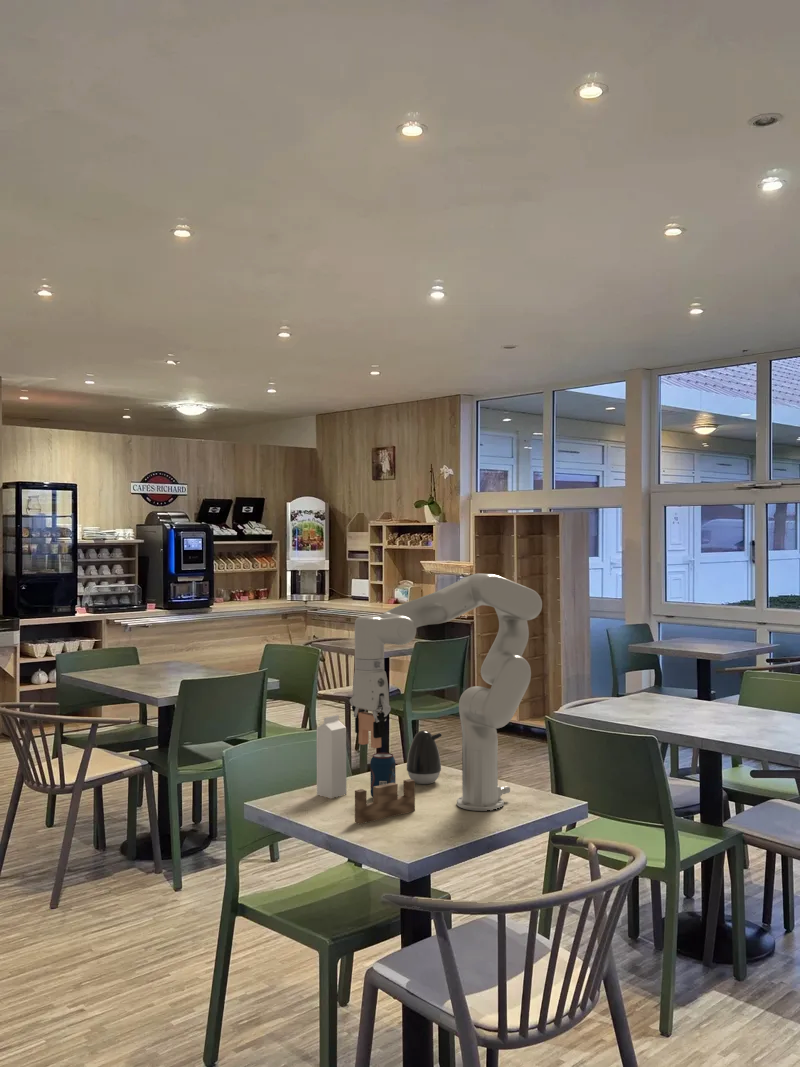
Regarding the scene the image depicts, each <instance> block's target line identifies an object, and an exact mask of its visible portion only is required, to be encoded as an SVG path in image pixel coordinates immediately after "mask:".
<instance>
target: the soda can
mask: <svg viewBox="0 0 800 1067" xmlns="http://www.w3.org/2000/svg"><path fill="white" fill-rule="evenodd" d="M388 783H396V759H395V758H394V754H393V753H391V752H376V753H373V754H372V757H371V760H370V796H371V797H372V799H373V787H374V786H379V785H383V784H388ZM396 784H397V783H396Z"/></svg>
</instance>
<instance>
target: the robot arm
mask: <svg viewBox="0 0 800 1067" xmlns="http://www.w3.org/2000/svg"><path fill="white" fill-rule="evenodd" d="M542 600H543V599H542V598H541V595H540V594H539V593H538V592H537V591H536V590H534V589H532V588H529V587H527V586H525V585H522V584H520V583H518V582H515V581H513V580H511V579H507V578H505V577H502V576H500V575H497V574H493V573H480V572H479V573H473V574H470V575H468V576H466V577H464V578H462V579H460V580H457V581H456V582H454V583H451V584H449V585H447V586H446V587H444V588H441V589H439V590H437V591H434V592H432V593H428V594H426V595H423V596H421V597H418V598H416V599H412V600H410V601H407V602H405V603H402V604H400V605H397V606H395V607H393V608H391V609H389V610H387V611H386V612H383V613H382V614H380V615H379V616H373V615H372V616H371V615H368V616H367V615H366V616H359V617H357V618H356V619H355V621H354V674H353V682H352V697H350V699H349V704H350V706H351V709H352V712H353V717H354V732H355V734H359V718H358V713H359V712H367V711H369V712H371V713H373V716H374V719H375V722H373V737H374V738H380V737H381V738H385V736H386V733H385V731H386V730H385V728H386V726H385V724H386V723H385V722H386V721H387V718H388V717H389V713H390V712H391V710H392V707H391V705H390V690H389V683H388V677H387V672H386V671H385V644H387V645H398V646H400V645H401V646H403V645H407V644H410V643H411V642H412V641H413V640H414V639H415V637H416V635H417V629H418V628H419V627H420V628H421V627H423V626H428V625H439V624H443V623H447V622H448V623H449V622H450V621H452V620H454V619H456V618H458V617H460V616H463V615H464V614H466V613H468V612H470V611H472V610H474V609H476V608H478V607H481V606H485V607H486V606H487V607H492V608H494V611H495V613H496V615H497V619H498V630H497V634H496V637H495V639H494V641H493V643H492V645H491V647H490V648H489V650H488V652H487V654H486V657H485V658H484V660H483V662H482V663H481V667H480V676H481V678H482V680H483V681H484V682H485V683H486V684H488V685H491V687H490V688H488V687H485V686H480V685H479V686H470V687H468V688H467V689H466V690H464V691H463V692H462V694H461V695H460V698H459V701H458V712H459V713H458V714H459V719H460V725H461V742H462V744H461V746H462V747H461V750H462V751H461V755H462V756H461V760H462V762H461V767H462V769H461V770H462V771H461V773H462V776H461V777H462V778H461V779H462V780H461V782H462V786H461V787H462V788H461V789H462V796H459V797H458V798H457V799H456V806H458V807H459V808H461V809H464V810H468V811H472V812H473V811H475V812H488V811H487V810H490V811H494V810H493V809H496V810H498V809H497V808H499V809H501V808H500V807H502V806H503V807H504V803H505V801H504V799H502V795H506V794H509V793H510V792H511V788H510V786H509V785H504V786H500V785H498V784H499V783H498V782H499V779H498V774H499V773H498V770H499V768H498V767H499V766H498V765H499V764H498V763H499V761H498V760H499V758H498V756H499V754H498V747H499V745H498V744H499V742H498V730H497V729H500V728H501V729H502V728H503V727H505V726H506V725H508V724H509V723H510V722H511V720H512V719H513V717H514V716H515V714H516V712H517V710H518V708H519V706H520V704H521V702H522V700H523V698H524V695H525V694H526V691H527V690H528V688H529V686H530V684H531V677H532V670H531V666H530V663H529V662H528V661H527V659H526V658H524V657H523V654H524V652H525V650H526V648H527V645H528V642H529V636H530V632H529V624H528V621H531V620H534V619H536V618H537V617H539V615H540V613H541V612H542V608H543V601H542ZM378 713H379V714H378ZM378 715H379V716H378ZM503 807H502V808H503Z"/></svg>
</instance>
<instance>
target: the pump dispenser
mask: <svg viewBox="0 0 800 1067" xmlns="http://www.w3.org/2000/svg"><path fill="white" fill-rule="evenodd" d="M441 737H443V736H442V733H440V732H439V733H436V734H433V735H432V733H431V732H430V731H428V730H420V731H418V732H417V733H415V735H414V737H413V739H412V741H411V744H410V747H409V750H408V753H407V761H406V771H407V774H408V776H409V779H412V780H415V784H417V785H430V784H433V783H434V782H436V781H437V780H438V779H439V776H440V775H441V774H440V773H441V771H442V762H441V757H440V752H439V751H440V750H439V748H438V745H437V742H436V740H438V739H440V738H441Z"/></svg>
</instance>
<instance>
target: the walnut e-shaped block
mask: <svg viewBox="0 0 800 1067" xmlns="http://www.w3.org/2000/svg"><path fill="white" fill-rule="evenodd" d="M415 784H416V783H415V780H412V779H411V778H409V779H404V780H403V795H400V796H399V795H398V789H399V788H398V783H388V784H383V785H379V786H374V787H373V798H372V802H369V803H368V802H367V797H368V796H367V795H368V794H367V790H366V789H363V788H360V789H356V790H354V823H355V822H356V823H355V824H358V823H359V825H362V824H366V823H365V822H367V823H370V821H371V822H375V821H379V820H382V819H383V820H384V819H387V818H391V817H396V816H399V815H403V814H408V813H412V812H415V811H416V798H415V797H416V786H415ZM374 820H375V821H374ZM361 823H362V824H361Z"/></svg>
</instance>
